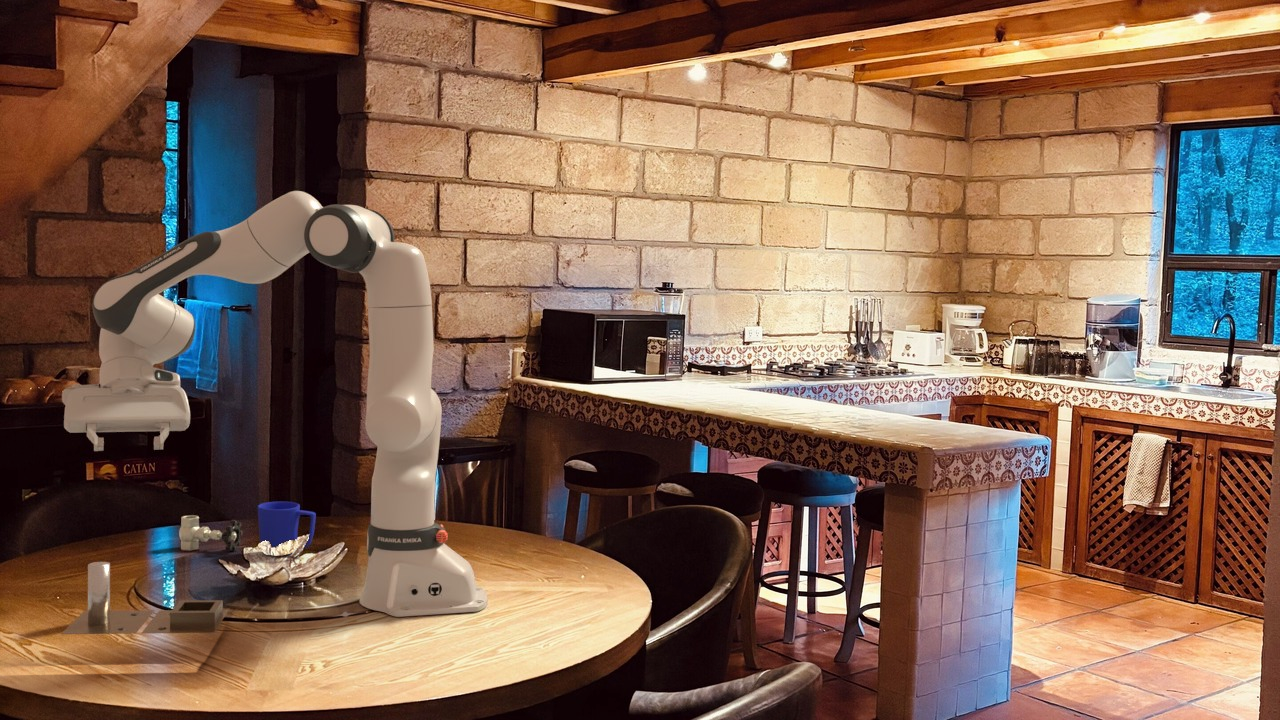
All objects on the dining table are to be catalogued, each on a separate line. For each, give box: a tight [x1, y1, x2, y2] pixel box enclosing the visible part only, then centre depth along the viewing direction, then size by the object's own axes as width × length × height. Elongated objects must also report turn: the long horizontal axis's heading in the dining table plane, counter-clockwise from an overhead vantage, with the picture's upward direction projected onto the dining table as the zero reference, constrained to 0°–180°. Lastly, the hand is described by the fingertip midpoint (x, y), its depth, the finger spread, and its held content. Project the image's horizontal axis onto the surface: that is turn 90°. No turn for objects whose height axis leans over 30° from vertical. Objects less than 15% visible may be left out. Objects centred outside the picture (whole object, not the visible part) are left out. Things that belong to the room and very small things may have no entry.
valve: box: [178, 514, 244, 553], centre depth 241 cm, size 7×7×12 cm
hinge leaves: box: [60, 599, 229, 635], centre depth 190 cm, size 23×12×4 cm, turn 99°
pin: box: [87, 561, 111, 625], centre depth 188 cm, size 3×3×9 cm
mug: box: [257, 501, 317, 549], centre depth 239 cm, size 8×12×10 cm
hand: (129, 448), depth 202 cm, fingers open, 8 cm apart
